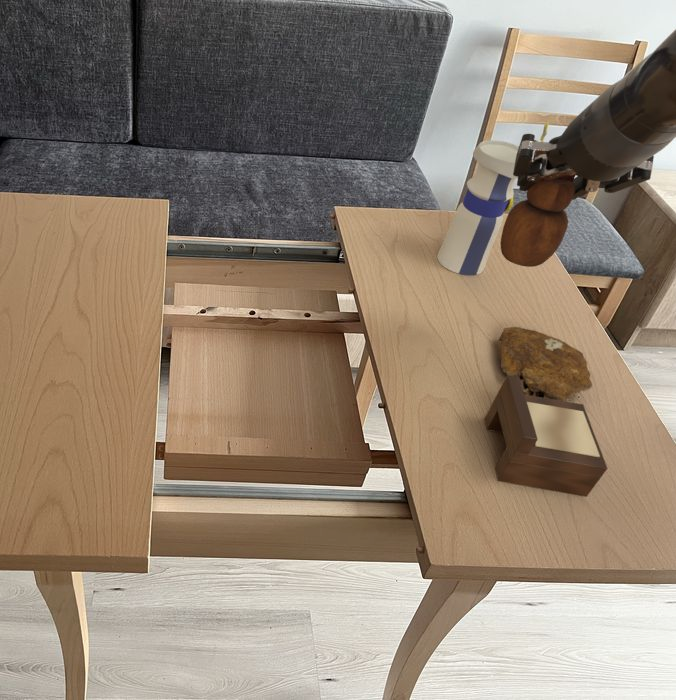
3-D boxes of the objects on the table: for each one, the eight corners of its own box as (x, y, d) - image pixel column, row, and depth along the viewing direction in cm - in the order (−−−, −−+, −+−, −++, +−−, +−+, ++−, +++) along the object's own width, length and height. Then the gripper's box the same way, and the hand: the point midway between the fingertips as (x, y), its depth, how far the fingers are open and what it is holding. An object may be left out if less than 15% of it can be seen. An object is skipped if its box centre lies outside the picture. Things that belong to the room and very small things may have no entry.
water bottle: (476, 248, 118) (536, 103, 101) (493, 277, 111) (560, 128, 95) (429, 245, 117) (482, 99, 101) (444, 274, 110) (503, 123, 94)
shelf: (565, 432, 86) (592, 389, 81) (586, 497, 78) (619, 453, 73) (484, 418, 86) (506, 374, 81) (497, 481, 78) (524, 437, 74)
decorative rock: (597, 426, 88) (562, 353, 99) (614, 402, 85) (576, 330, 97) (509, 409, 87) (485, 337, 99) (523, 385, 85) (497, 315, 97)
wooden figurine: (543, 253, 89) (597, 142, 79) (551, 277, 84) (608, 162, 75) (490, 243, 90) (537, 131, 80) (494, 266, 85) (544, 151, 76)
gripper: (539, 152, 66) (481, 206, 83) (694, 179, 65) (603, 228, 82) (552, 78, 67) (491, 147, 84) (706, 103, 65) (613, 168, 82)
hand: (547, 187), depth 83 cm, fingers closed on wooden figurine, 5 cm apart
